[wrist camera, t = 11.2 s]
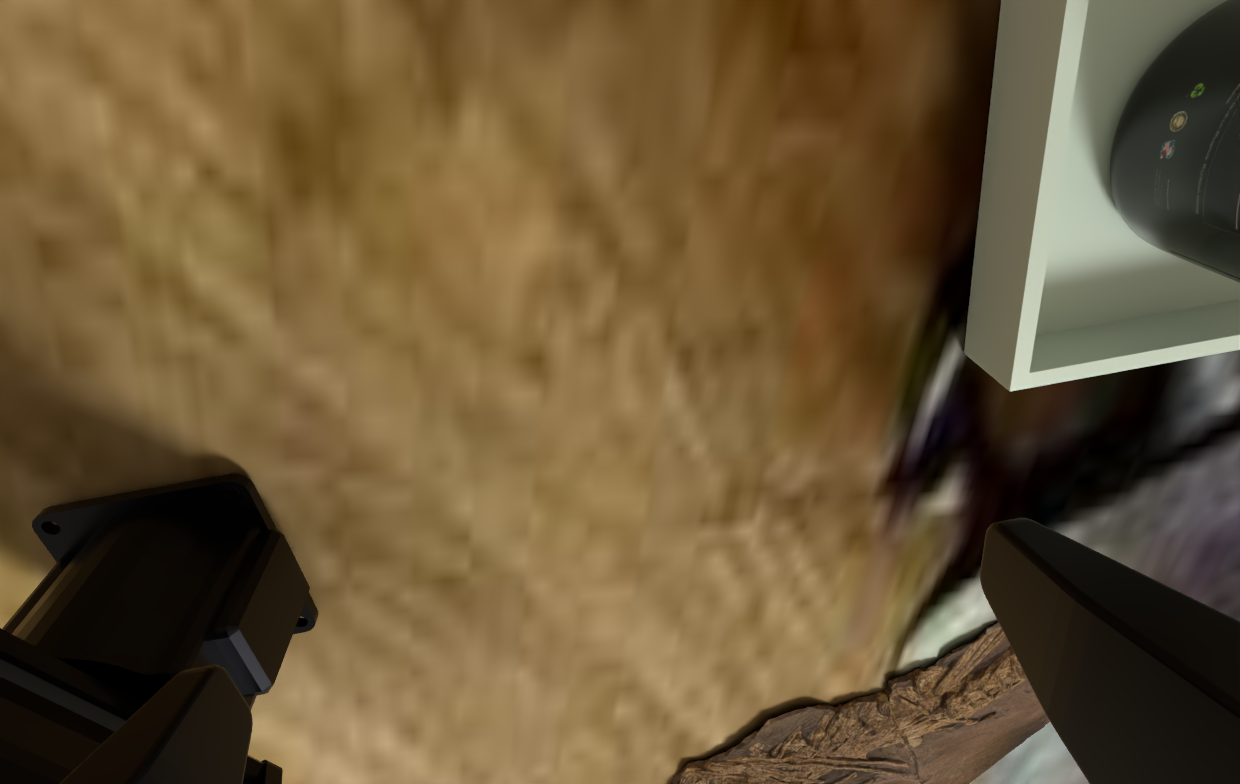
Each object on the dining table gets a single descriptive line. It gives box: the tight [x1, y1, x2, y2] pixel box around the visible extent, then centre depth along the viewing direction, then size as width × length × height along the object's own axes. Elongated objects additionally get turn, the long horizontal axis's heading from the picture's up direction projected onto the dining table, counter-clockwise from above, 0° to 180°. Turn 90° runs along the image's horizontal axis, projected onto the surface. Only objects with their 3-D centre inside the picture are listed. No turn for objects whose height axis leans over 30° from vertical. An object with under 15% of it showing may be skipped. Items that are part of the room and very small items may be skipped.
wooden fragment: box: [671, 622, 1050, 784], centre depth 33 cm, size 26×11×1 cm, turn 117°
